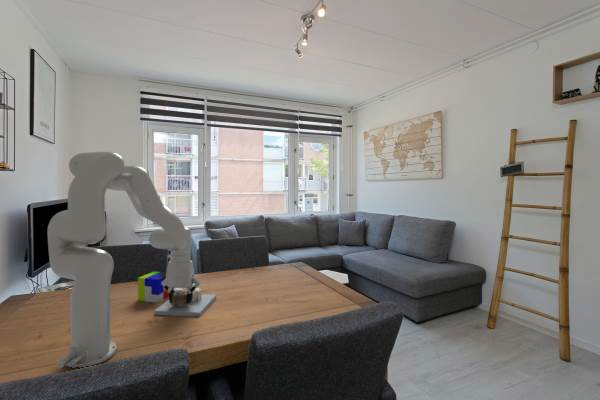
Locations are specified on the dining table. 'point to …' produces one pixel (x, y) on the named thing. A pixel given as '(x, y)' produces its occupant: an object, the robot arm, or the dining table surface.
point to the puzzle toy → (152, 287)
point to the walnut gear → (179, 298)
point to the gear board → (191, 309)
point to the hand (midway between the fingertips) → (180, 301)
